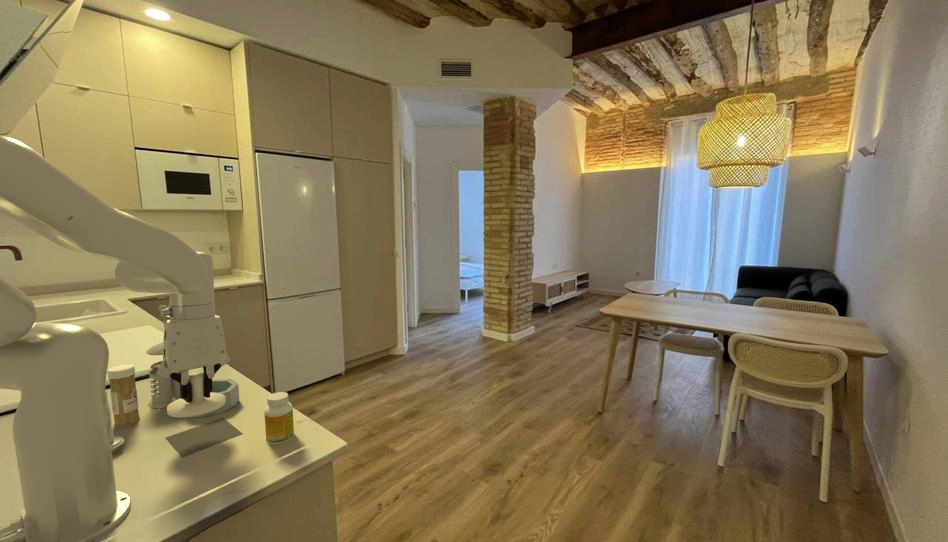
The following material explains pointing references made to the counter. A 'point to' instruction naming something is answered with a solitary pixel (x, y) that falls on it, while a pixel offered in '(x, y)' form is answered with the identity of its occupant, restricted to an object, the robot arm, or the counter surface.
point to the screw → (115, 440)
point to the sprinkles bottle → (123, 395)
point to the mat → (202, 436)
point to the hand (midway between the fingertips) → (196, 397)
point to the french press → (162, 380)
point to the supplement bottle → (279, 419)
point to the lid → (196, 400)
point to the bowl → (227, 389)
